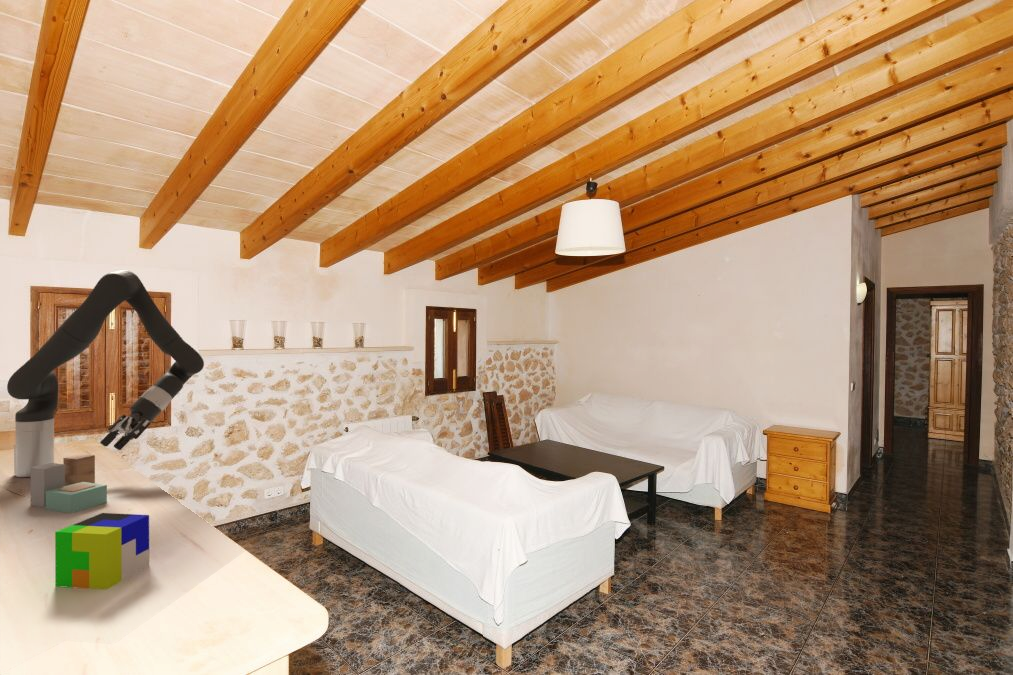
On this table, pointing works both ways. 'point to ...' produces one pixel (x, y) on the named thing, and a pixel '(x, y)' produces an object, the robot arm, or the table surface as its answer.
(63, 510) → the teal base block
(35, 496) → the slate-grey block
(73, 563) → the puzzle toy
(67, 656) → the table surface
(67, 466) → the walnut block
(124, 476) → the table surface
